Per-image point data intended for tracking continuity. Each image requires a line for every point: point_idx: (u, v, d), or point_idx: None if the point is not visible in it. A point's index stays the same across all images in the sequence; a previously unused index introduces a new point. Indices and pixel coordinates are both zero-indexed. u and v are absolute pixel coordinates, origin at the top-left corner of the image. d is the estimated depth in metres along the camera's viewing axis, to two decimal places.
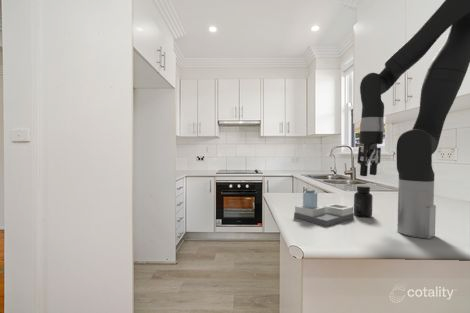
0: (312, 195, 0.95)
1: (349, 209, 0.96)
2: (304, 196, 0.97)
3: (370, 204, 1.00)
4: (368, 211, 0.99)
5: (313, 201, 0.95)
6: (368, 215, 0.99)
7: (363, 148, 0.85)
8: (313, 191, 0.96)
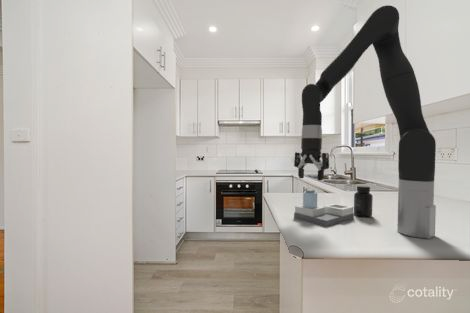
0: (312, 195, 0.95)
1: (349, 209, 0.96)
2: (304, 196, 0.97)
3: (370, 204, 1.00)
4: (368, 211, 0.99)
5: (313, 201, 0.95)
6: (368, 215, 0.99)
7: (327, 154, 0.92)
8: (313, 191, 0.96)
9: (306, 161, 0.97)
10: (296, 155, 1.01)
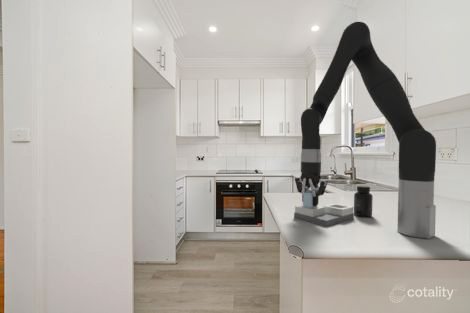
0: (312, 195, 0.95)
1: (349, 209, 0.96)
2: (304, 196, 0.97)
3: (370, 204, 1.00)
4: (368, 211, 0.99)
5: None
6: (368, 215, 0.99)
7: (326, 183, 0.92)
8: None
9: (307, 184, 0.97)
10: (296, 181, 1.01)
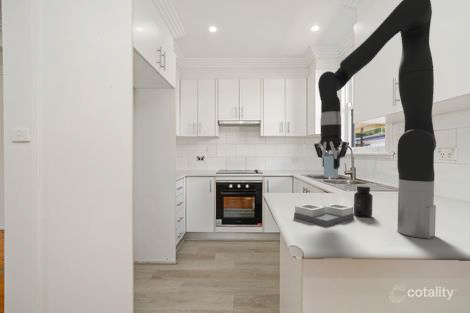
0: (333, 158, 0.95)
1: (349, 209, 0.96)
2: (325, 160, 0.97)
3: (370, 204, 1.00)
4: (368, 211, 0.99)
5: None
6: (368, 215, 0.99)
7: (347, 144, 0.92)
8: None
9: (328, 148, 0.97)
10: (316, 146, 1.01)
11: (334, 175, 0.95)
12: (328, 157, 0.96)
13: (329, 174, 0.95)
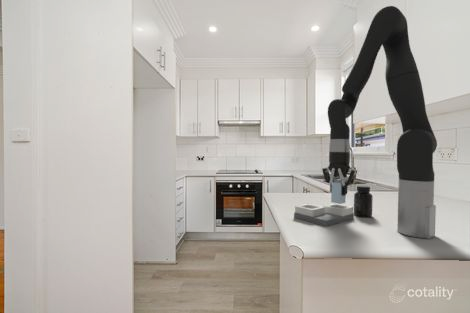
0: (341, 184, 0.96)
1: (349, 209, 0.96)
2: (333, 186, 0.98)
3: (370, 204, 1.00)
4: (368, 211, 0.99)
5: None
6: (368, 215, 0.99)
7: (356, 172, 0.93)
8: None
9: (336, 174, 0.98)
10: (324, 171, 1.02)
11: (341, 201, 0.96)
12: (336, 183, 0.97)
13: (337, 201, 0.97)
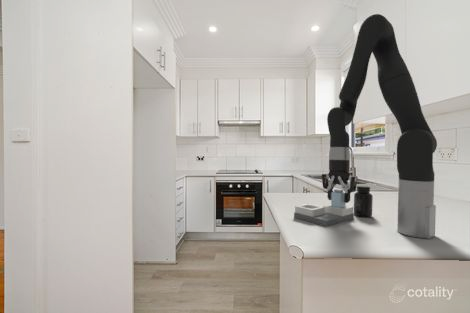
0: (341, 195, 0.96)
1: (349, 209, 0.96)
2: (332, 196, 0.98)
3: (370, 204, 1.00)
4: (368, 211, 0.99)
5: (342, 200, 0.96)
6: (368, 215, 0.99)
7: (356, 178, 0.93)
8: (341, 191, 0.98)
9: (335, 182, 0.98)
10: (323, 177, 1.02)
11: None
12: (336, 194, 0.97)
13: None
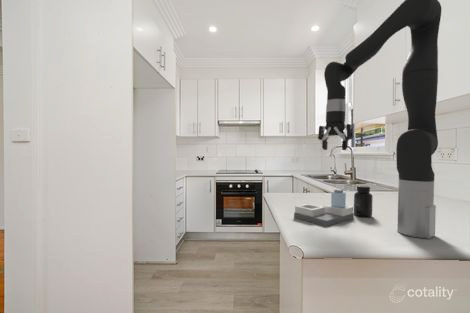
0: (341, 195, 0.96)
1: (349, 209, 0.96)
2: (332, 196, 0.98)
3: (370, 204, 1.00)
4: (368, 211, 0.99)
5: (342, 200, 0.96)
6: (368, 215, 0.99)
7: (351, 126, 1.00)
8: (341, 191, 0.98)
9: (330, 133, 1.05)
10: (320, 128, 1.09)
11: None
12: (336, 194, 0.97)
13: None
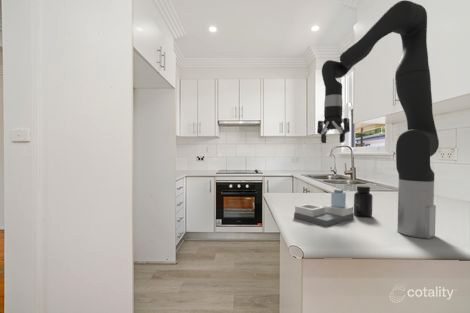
0: (341, 195, 0.96)
1: (349, 209, 0.96)
2: (332, 196, 0.98)
3: (370, 204, 1.00)
4: (368, 211, 0.99)
5: (342, 200, 0.96)
6: (368, 215, 0.99)
7: (348, 119, 1.06)
8: (341, 191, 0.98)
9: (329, 127, 1.11)
10: (319, 123, 1.15)
11: None
12: (336, 194, 0.97)
13: None
